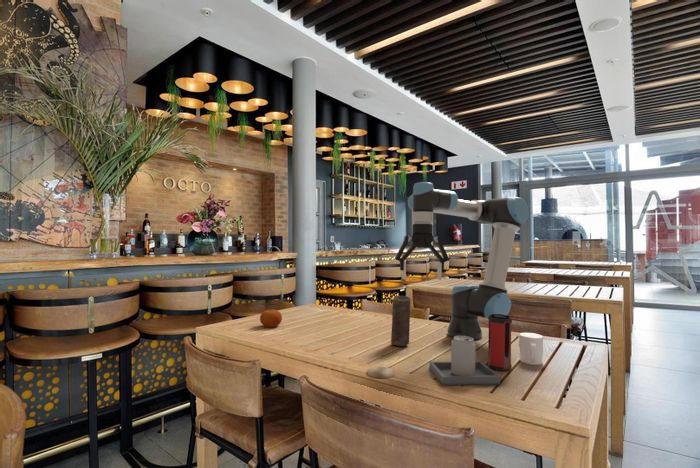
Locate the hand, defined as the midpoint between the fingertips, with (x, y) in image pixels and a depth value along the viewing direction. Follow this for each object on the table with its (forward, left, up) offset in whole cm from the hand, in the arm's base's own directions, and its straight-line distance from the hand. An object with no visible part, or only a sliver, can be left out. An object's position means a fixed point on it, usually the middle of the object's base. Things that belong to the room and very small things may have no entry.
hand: (421, 279), depth 143 cm
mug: (-39, +8, -29) cm, 49 cm away
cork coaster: (+18, +18, -29) cm, 38 cm away
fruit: (+62, -46, -29) cm, 82 cm away
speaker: (-24, +14, -29) cm, 40 cm away
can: (-8, +22, -28) cm, 37 cm away
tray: (-8, +22, -29) cm, 37 cm away
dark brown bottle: (+5, -13, -29) cm, 32 cm away
